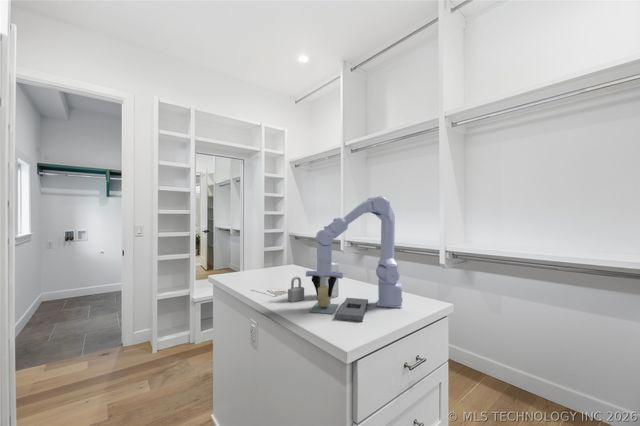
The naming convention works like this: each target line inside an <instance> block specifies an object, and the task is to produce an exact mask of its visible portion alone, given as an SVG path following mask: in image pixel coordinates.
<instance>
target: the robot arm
mask: <svg viewBox="0 0 640 426" xmlns="http://www.w3.org/2000/svg"><path fill="white" fill-rule="evenodd" d="M368 213H370V214H373V215H375V216H376V217H377V218H378V219H380V221H381V222H380V225H381V226H380V229H381V230H380V258H379V260H378V262H377V263H378V264H377V267H376V269H375V274H376V276H377V278H378V280H377V281H378V283H377V284H378V290H377V291H378V293H377V294H378V297H377V298H378V299H377V303H376V307H385V308H398V309H402V304H403V297H402V296H403V295H402V294H403V293H402V290H403V289H402V286H403V285H402V283H400V282H399V279H400V276H401V275H400V271H399V269H398V264H397V262H396V260H395V238H396V237H395V232H396V231H395V227H396V226H395V220H396V216H395V213H394V211H393V209H392V206H391V202H390V201H389V200H388V199H387V198H386V197H384V196H383V195H380V196H375V197H374V196H373V197H368V198H367V199H366V200H364V201H362V202H361V203H360V204H358V205H357V206H356V207H355V208H353V209H352V210H351V211H350V212H348V213H347V214H346V215H345V216H343V217H337V218H336V217H334V218H333V219H332V222H331V223H330V224H328V225H327V226H326V225H325V226H324V227H323V228H324V229H320V230H319V231H318V232H317V233H316V234H315V238H314V239H315V241H316V245H317V246H316V248H317V249H316V270H306V271H305V277H307V278H308V277H311V283H312V284H313V286H314V289H315V291H316V296H318V287H319V286H320V279H321V277H329V279H328V285H329V293H328V294H329V297H331V296H332V290H333V287H334V284H335V282H336V280H337V278H338V279H339V280H341V279H343V278H344V272H339V271H338V272H332V261H333V260H332V259H333V258H332V257H333V255H332V243H333V242H334V239H336V238H338V237H339V236H340V235H342V234H343V233H344V232H346V231H347V230H348V228H349V224H351V223H352V222H354V221H355V220H356V219H359V217H361V216H362V215H364V214H368Z"/></svg>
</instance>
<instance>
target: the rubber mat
mask: <svg viewBox="0 0 640 426" xmlns="http://www.w3.org/2000/svg"><path fill="white" fill-rule="evenodd" d="M338 307H339V303H330V305H329V306H328V307H324V306H318V302H316V303H315V304H313V306H312V307H311V308H310V310H309V311H308V313H314V314H315V313H316V314H323V315H333V314H334V313H335V311H336V310H337V309H338Z"/></svg>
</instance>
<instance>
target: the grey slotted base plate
mask: <svg viewBox="0 0 640 426" xmlns="http://www.w3.org/2000/svg"><path fill="white" fill-rule="evenodd" d="M368 306H369V299H368V298H357V297H355V298H354V297H346V298H345V299H344V302H343V303H342V305H341V306H340V308H339V309H338V312H337V313H336V320H339V321H349V322H358V323H359V322H360V323H362V322H363V320H364V318H365V315H366V312H367V310H368Z"/></svg>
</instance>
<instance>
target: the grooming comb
mask: <svg viewBox="0 0 640 426" xmlns="http://www.w3.org/2000/svg"><path fill="white" fill-rule="evenodd" d="M271 291H272V290H271ZM271 291H269V290H267V292H269V293H271V294H274V295H275V296H274V297H278V296H277V295H280V296H282V294H283V295H286V294H288V290H284V291H275V292H273V291H272V292H271ZM286 291H287V292H286Z"/></svg>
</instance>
